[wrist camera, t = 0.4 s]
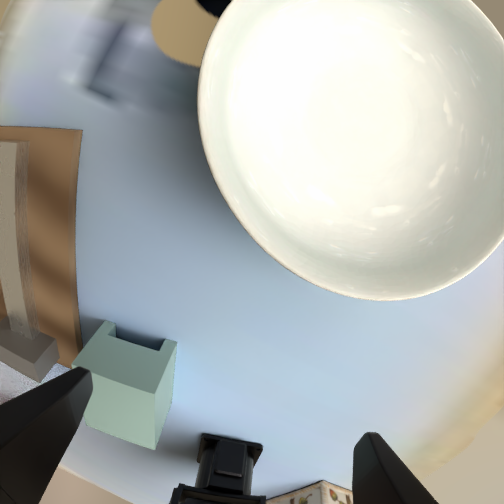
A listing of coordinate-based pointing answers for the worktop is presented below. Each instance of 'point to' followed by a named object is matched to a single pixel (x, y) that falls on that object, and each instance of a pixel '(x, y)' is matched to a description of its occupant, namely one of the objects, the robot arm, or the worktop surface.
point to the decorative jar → (316, 495)
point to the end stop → (27, 352)
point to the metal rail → (16, 239)
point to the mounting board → (52, 232)
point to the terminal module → (128, 386)
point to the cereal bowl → (359, 138)
